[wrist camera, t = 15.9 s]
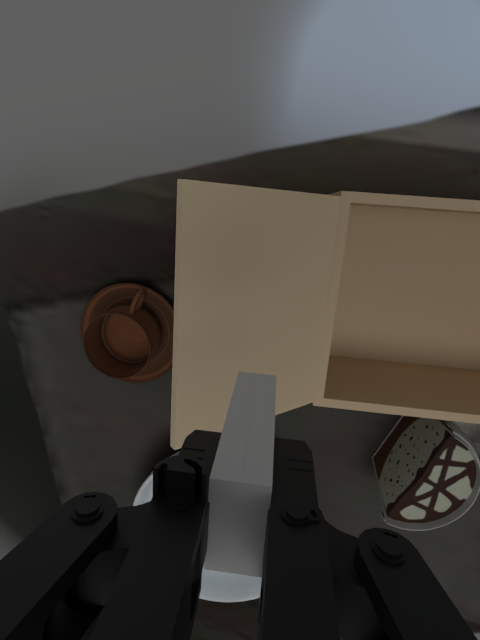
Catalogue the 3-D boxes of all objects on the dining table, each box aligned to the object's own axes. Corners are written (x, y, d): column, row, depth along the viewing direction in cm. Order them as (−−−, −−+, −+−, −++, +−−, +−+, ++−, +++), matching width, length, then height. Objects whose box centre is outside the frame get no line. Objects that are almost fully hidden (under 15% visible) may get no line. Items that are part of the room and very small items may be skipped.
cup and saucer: (85, 276, 48) (57, 286, 42) (186, 283, 47) (172, 294, 41) (90, 372, 51) (65, 393, 45) (185, 380, 50) (172, 403, 44)
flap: (174, 450, 27) (170, 446, 28) (313, 401, 36) (308, 399, 36) (182, 179, 23) (177, 179, 23) (340, 196, 31) (334, 196, 31)
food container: (407, 488, 51) (437, 554, 41) (364, 466, 50) (383, 527, 41) (468, 411, 47) (516, 463, 37) (422, 386, 47) (458, 432, 37)
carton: (560, 383, 45) (655, 443, 34) (305, 357, 47) (313, 405, 36) (612, 215, 40) (744, 218, 29) (325, 195, 42) (341, 190, 31)
